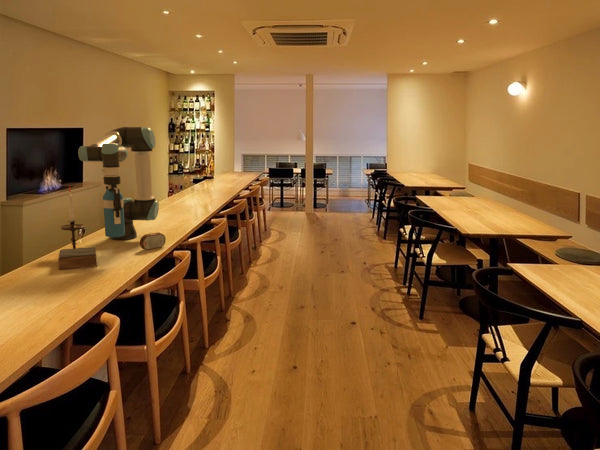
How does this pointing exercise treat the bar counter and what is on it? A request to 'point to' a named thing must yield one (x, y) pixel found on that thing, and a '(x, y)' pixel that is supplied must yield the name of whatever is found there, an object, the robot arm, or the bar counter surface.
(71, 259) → the stand
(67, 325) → the bar counter surface
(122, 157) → the robot arm
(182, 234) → the bar counter surface
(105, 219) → the water bottle
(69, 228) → the candlestick
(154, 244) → the tin
